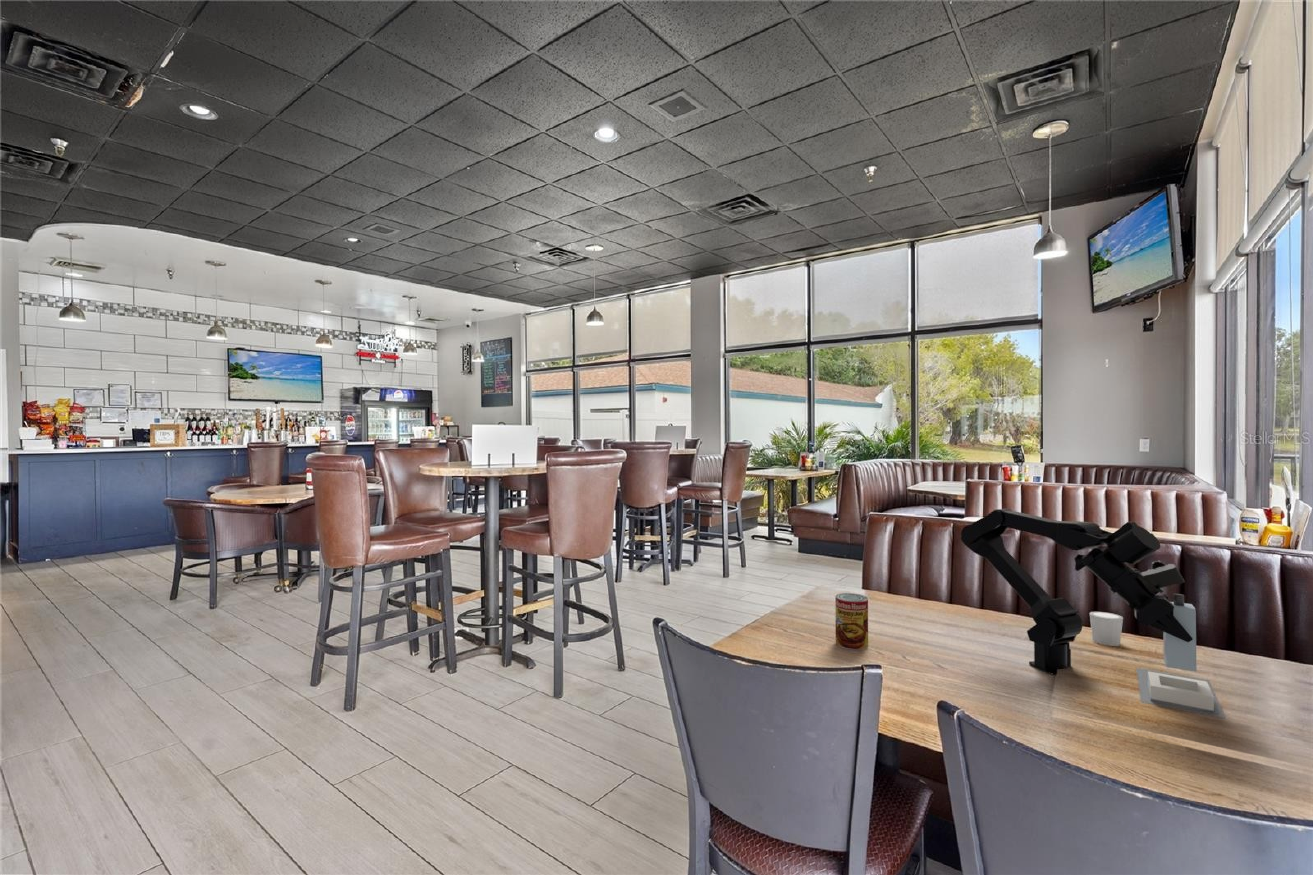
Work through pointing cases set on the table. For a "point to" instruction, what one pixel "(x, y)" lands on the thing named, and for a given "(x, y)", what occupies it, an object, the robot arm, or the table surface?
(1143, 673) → the board
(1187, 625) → the plug
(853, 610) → the canned food
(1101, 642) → the white cup
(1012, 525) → the robot arm
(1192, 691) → the socket
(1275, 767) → the table surface
